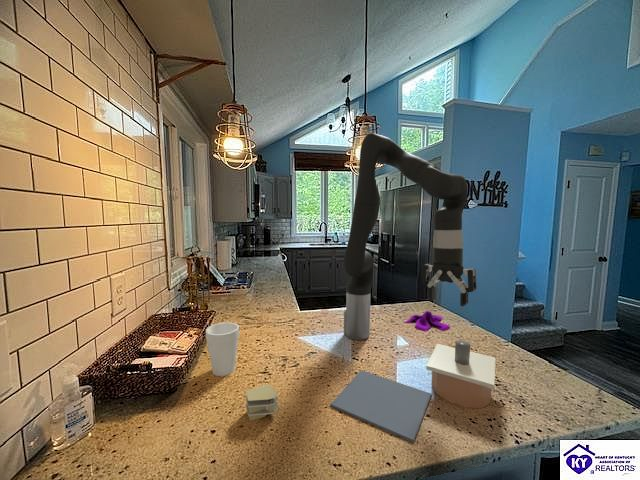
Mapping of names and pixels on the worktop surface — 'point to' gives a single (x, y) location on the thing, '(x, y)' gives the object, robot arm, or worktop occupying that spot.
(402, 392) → the mat
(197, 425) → the worktop surface
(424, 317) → the cloth
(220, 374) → the foam cup
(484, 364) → the cover
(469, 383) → the bowl
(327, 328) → the worktop surface
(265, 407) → the pale green layered block
